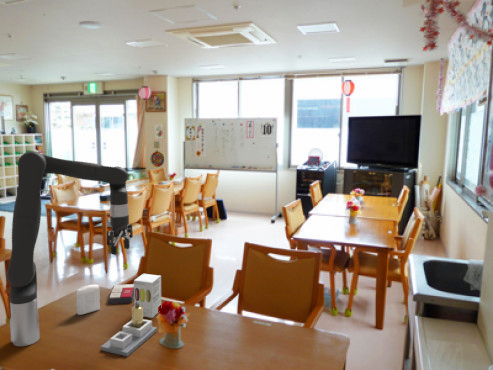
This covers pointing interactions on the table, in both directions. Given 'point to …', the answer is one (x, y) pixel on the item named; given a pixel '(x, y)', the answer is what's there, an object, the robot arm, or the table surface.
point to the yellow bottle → (137, 315)
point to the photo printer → (88, 299)
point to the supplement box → (148, 293)
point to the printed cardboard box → (122, 294)
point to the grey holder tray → (129, 338)
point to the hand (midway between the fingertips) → (120, 251)
